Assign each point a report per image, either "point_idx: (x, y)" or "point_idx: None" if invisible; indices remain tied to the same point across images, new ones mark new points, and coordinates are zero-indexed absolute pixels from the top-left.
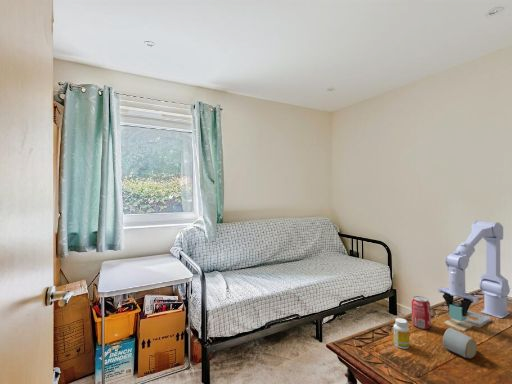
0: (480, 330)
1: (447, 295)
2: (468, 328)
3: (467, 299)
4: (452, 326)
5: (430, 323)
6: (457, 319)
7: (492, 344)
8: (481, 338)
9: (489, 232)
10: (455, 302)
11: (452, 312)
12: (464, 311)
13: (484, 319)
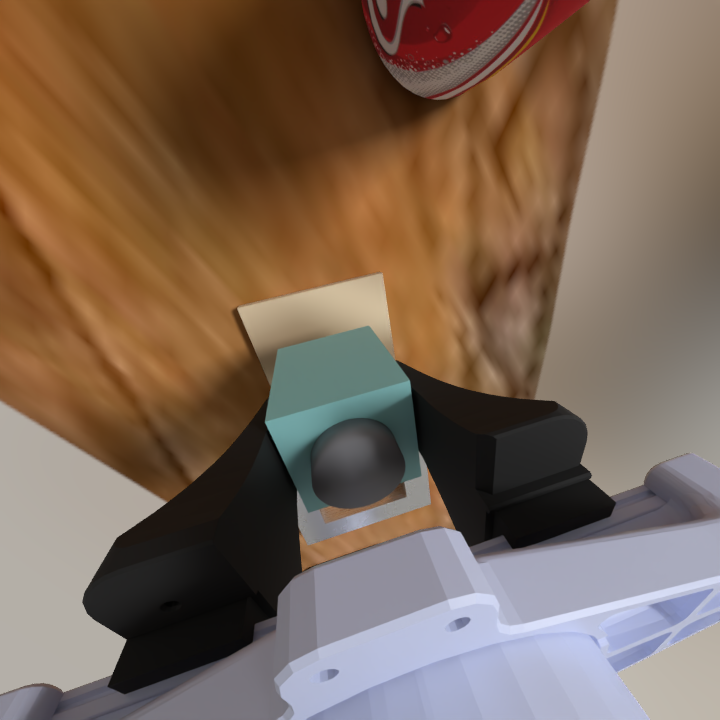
0: (229, 414)
1: (524, 489)
2: (263, 367)
3: (156, 666)
4: (316, 287)
5: (374, 5)
6: (308, 344)
7: (6, 316)
8: (116, 326)
9: None
10: (389, 471)
11: (355, 353)
12: (248, 425)
13: (298, 510)
